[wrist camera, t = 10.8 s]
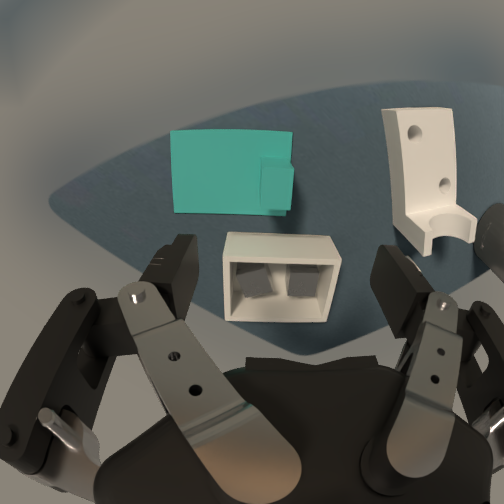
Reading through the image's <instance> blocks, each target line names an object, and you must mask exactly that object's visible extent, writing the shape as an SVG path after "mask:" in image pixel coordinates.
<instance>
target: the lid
mask: <svg viewBox="0 0 504 504" xmlns="http://www.w3.org/2000/svg"><path fill="white" fill-rule="evenodd" d="M292 134H293V132H283V131H267V130H239V129H203V130H177V131H175V130H172V131H170V137H171V167H172V186H173V201H174V213H218V214H250V215H274V216H286V210H291V199H292V188H293V177H294V168H293V166H292V165H291V163H290V162H291V148H292Z"/></svg>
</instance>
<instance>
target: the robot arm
mask: <svg viewBox="0 0 504 504" xmlns="http://www.w3.org/2000/svg"><path fill="white" fill-rule="evenodd" d="M474 250H475V253H476V255H477V256H478V257H479V258H480V259H481V260H482V261H483V262H484V263H485V264H486V265H487V266H488V267H489V268H490V269H491V270H492V271H493V272H494V273H495V274H496V275H497V276H498V277H499V278H500V280H501V281H502V282H503V283H504V204H501V203H497V204H495V205H492V206H491V207H490V208H489V209H488V210H487V211H486V212H485V213H484V215H483V216H482V218H481V220H480V222H479V224H478V226H477V229H476V233H475V240H474ZM198 277H199V260H198V246H197V236H196V235H195V234H178V235H177V237H176V238H175V240H174V242H173V243H172V245H165V246H163V247H162V248H161V249H159V250H158V251H157V252H156V254H155V255H154V257H153V259H152V260H151V262H150V264H149V265H148V267H147V268H146V270H145V271H144V273H143V275H142V276H141V278H140V280H139V281H138V282H133V283H130V284H128V285H126V286H125V287H123V288H122V289H121V290H120V291H119V293H118V296H117V297H115V298H107V299H97V296H96V293H95V291H93V290H92V289H90V288H79V289H75V290H73V291H71V292H70V293H68V294H67V295H66V296H65V297H64V298H63V300H62V301H61V302H60V304H59V305H58V307H57V308H56V310H55V311H54V313H53V314H52V316H51V317H50V319H49V320H48V322H47V323H46V325H45V326H44V328H43V330H42V331H41V333H40V334H39V336H38V338H37V339H36V341H35V343H34V344H33V346H32V348H31V349H30V351H29V353H28V355H27V356H26V358H25V360H24V362H23V363H22V365H21V367H20V369H19V371H18V373H17V375H16V377H15V379H14V380H13V382H12V384H11V386H10V388H9V391H8V393H7V395H6V397H5V399H4V402H3V403H2V406H1V408H0V459H2V460H4V461H5V462H6V463H8V464H10V465H11V466H13V467H14V468H16V469H17V470H18V471H19V472H21V473H22V474H24V475H26V476H28V477H29V478H31V479H33V480H35V481H37V482H39V483H41V484H43V485H45V486H49V487H51V488H53V489H55V490H57V491H60V492H70V493H72V494H74V495H77V496H79V497H81V498H84V499H86V500H89V501H92V502H94V503H95V504H490V486H491V477H492V474H494V473H496V472H497V471H499V470H501V469H502V468H504V324H503V323H502V322H501V320H500V318H499V317H498V315H497V314H496V313H495V311H494V310H493V309H492V308H491V307H490V306H489V305H488V304H486V303H484V302H481V301H475V302H474V303H473V304H472V306H471V308H470V310H469V311H468V310H463V309H459V308H458V305H457V303H456V301H455V300H454V299H453V298H452V297H450V296H449V295H447V294H445V293H443V292H438V291H434V289H433V288H432V287H431V285H430V284H429V283H428V281H427V280H426V278H425V277H424V276H423V275H422V273H421V272H420V271H419V269H418V268H417V267H416V265H415V264H414V263H413V262H412V261H410V260H409V259H408V258H406V257H405V256H404V254H403V253H402V252H401V251H400V249H399V248H398V247H397V246H393V245H380V246H379V248H378V251H377V255H376V258H375V262H374V265H373V269H372V272H371V276H370V285H371V288H372V290H373V292H374V294H375V296H376V298H377V300H378V302H379V304H380V306H381V309H382V311H383V313H384V315H385V317H386V319H387V321H388V324H389V326H390V328H391V330H392V332H393V334H394V337H395V339H397V338H407V341H406V343H405V344H404V346H403V349H402V352H401V354H400V357H399V359H398V362H397V365H396V367H395V369H392V368H390V367H386V366H382V365H378V362H377V359H376V356H375V355H374V356H360V357H346V358H343V359H339V360H336V361H332V362H328V363H324V364H320V365H310V364H305V363H300V362H295V361H290V360H285V359H281V358H280V359H279V358H253V357H246V364H245V365H246V366H245V367H241V368H237V369H233V370H230V371H227V372H224V373H222V372H221V371H220V370H219V368H218V367H217V366H216V365H215V363H214V362H213V360H212V359H211V358H210V356H209V355H208V354H207V353H206V351H205V350H204V348H203V347H202V346H201V344H200V343H199V341H198V340H197V339H196V337H195V336H194V334H193V333H192V332H191V330H190V329H189V327H188V326H187V324H186V323H185V318H186V315H187V312H188V309H189V306H190V302H191V299H192V296H193V293H194V290H195V287H196V284H197V281H198ZM481 344H482V346H483V347H484V349H485V351H486V353H487V355H488V358H489V364H488V367H487V369H486V370H485V371H484V372H483V374H482V372H481V369H480V367H479V365H478V363H477V361H476V359H475V357H474V354H475V353H476V351H477V350H478V348H479V347H480V345H481ZM132 354H137V355H138V357H139V360H140V362H141V364H142V366H143V368H144V371H145V373H146V375H147V377H148V379H149V381H150V383H151V385H152V387H153V389H154V391H155V393H156V395H157V397H158V399H159V401H160V403H161V405H162V407H163V409H164V411H165V413H166V414H167V415H166V416H165V417H164V418H162V419H161V420H160V421H158V422H157V423H156V424H154V425H153V426H152V427H150V428H149V429H148V430H146V431H145V432H144V433H142V434H141V435H140V436H138V437H137V438H136V439H134V440H133V441H131V442H130V443H128V444H127V445H126V446H124V447H123V448H121V449H120V450H119V451H117V452H116V453H114V454H113V455H111V456H110V457H109V458H107V459H106V460H105V461H104V462H103V464H101V462H100V459H99V448H100V447H99V441H98V439H97V437H96V435H95V434H94V433H93V432H92V428H93V424H94V421H95V418H96V415H97V411H98V408H99V405H100V402H101V399H102V396H103V393H104V390H105V387H106V384H107V381H108V379H109V376H110V373H111V370H112V368H113V365H114V362H115V360H116V357H117V356H122V355H132ZM456 388H457V391H458V394H459V396H460V399H461V402H462V405H463V408H464V410H465V413H466V416H467V419H468V423H469V424H468V423H467V422H465V421H464V420H463V419H462V418H460V417H459V416H458V415H456V414H455V413H454V412H453V411H452V407H453V402H454V397H455V392H456Z"/></svg>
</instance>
